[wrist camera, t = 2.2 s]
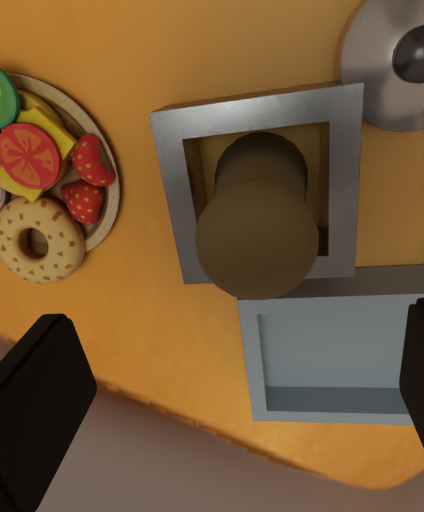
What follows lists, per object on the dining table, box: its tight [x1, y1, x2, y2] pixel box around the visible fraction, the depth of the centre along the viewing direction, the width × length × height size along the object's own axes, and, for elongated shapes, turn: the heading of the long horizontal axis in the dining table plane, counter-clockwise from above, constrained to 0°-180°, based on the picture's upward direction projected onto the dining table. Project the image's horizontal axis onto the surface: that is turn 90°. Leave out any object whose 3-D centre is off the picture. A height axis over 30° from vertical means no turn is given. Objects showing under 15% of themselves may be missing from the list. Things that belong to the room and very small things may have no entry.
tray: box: [237, 264, 424, 425], centre depth 27 cm, size 14×12×4 cm
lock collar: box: [149, 0, 424, 284], centre depth 20 cm, size 17×15×4 cm
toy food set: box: [0, 69, 120, 284], centre depth 24 cm, size 13×13×3 cm
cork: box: [195, 132, 319, 300], centre depth 19 cm, size 6×6×11 cm
